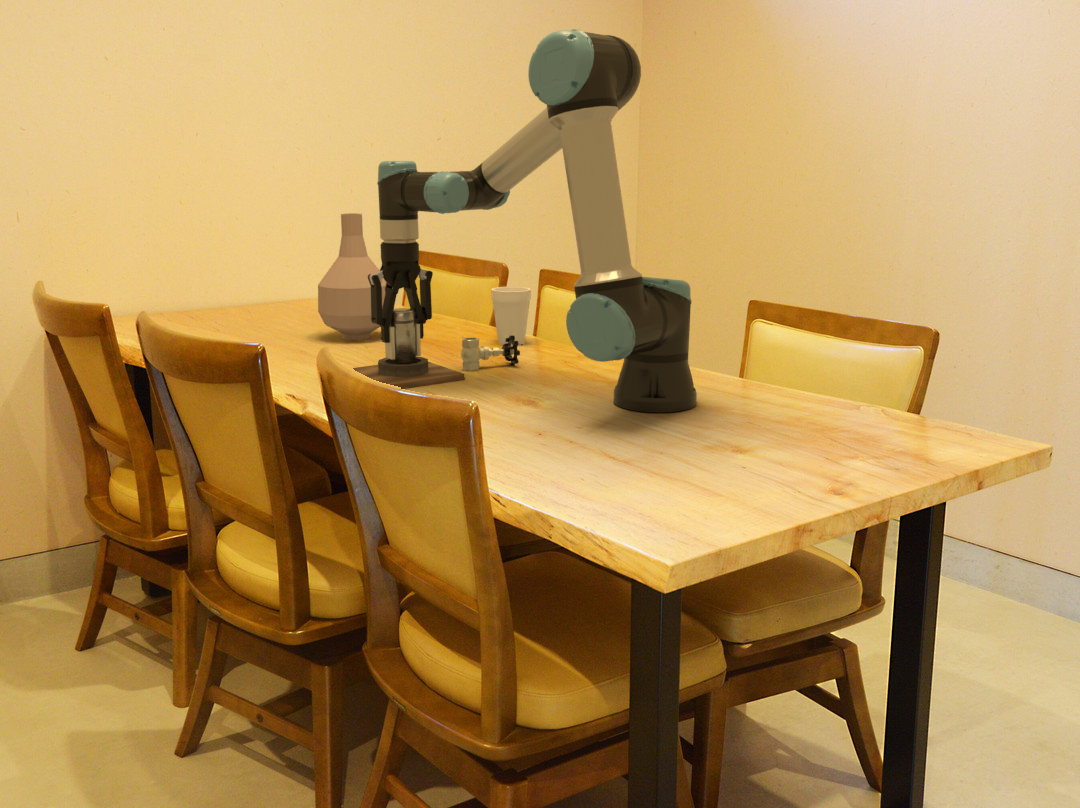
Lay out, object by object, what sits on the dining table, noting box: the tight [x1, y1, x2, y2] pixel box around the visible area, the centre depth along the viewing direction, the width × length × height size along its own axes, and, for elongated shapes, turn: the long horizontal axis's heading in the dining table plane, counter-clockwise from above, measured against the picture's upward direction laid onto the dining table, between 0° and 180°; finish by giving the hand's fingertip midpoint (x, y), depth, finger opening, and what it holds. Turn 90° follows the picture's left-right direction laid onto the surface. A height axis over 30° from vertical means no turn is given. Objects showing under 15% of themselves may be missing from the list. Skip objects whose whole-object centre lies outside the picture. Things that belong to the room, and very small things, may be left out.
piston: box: [390, 307, 416, 363], centre depth 206 cm, size 5×5×10 cm
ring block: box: [352, 356, 466, 389], centre depth 208 cm, size 18×18×3 cm
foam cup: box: [490, 286, 532, 346], centre depth 243 cm, size 10×9×13 cm
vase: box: [317, 212, 386, 341], centre depth 247 cm, size 18×18×30 cm
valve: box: [460, 335, 521, 372], centre depth 217 cm, size 7×7×12 cm
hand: (403, 356), depth 207 cm, fingers closed on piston, 5 cm apart
